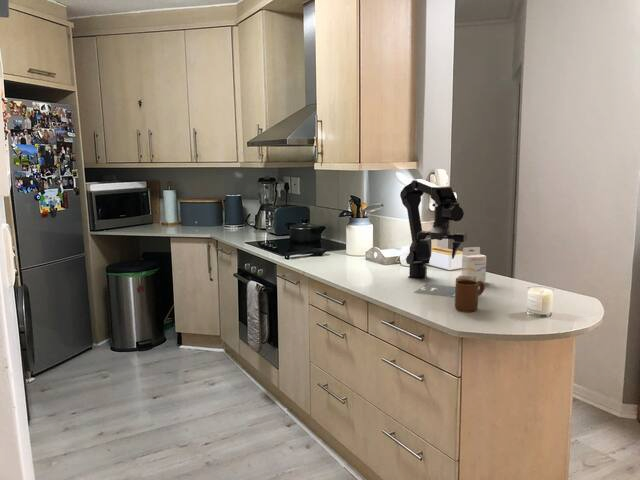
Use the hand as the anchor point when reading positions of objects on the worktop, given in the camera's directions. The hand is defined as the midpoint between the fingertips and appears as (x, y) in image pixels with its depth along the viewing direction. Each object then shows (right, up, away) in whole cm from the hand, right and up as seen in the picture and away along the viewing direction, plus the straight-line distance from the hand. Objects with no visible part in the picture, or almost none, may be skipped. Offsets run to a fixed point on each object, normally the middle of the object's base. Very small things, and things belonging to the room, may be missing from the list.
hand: (441, 257), depth 209 cm
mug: (+4, -17, -28) cm, 32 cm away
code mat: (+1, -13, -5) cm, 14 cm away
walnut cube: (+7, -13, -9) cm, 17 cm away
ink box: (+15, -11, +7) cm, 20 cm away
